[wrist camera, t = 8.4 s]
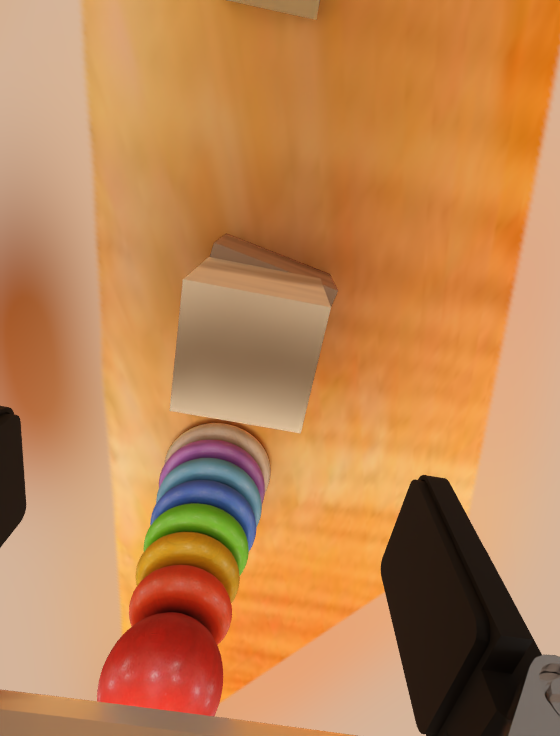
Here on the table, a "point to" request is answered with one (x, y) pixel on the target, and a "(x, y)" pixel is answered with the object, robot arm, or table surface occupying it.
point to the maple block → (248, 344)
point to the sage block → (287, 6)
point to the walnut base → (268, 261)
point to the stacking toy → (189, 573)
